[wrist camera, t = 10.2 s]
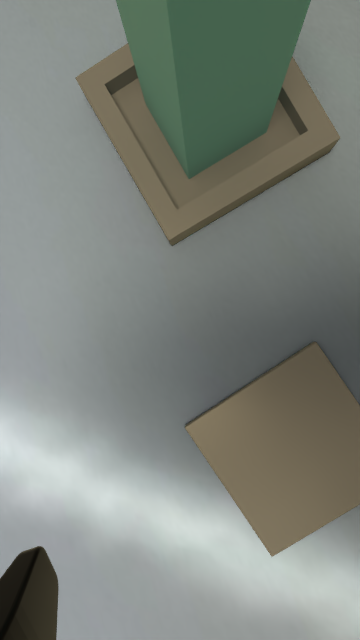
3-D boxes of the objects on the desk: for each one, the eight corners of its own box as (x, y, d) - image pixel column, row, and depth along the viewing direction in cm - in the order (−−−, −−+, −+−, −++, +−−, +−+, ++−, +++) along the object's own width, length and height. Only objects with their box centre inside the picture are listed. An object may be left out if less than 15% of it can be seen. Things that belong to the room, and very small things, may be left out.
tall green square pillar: (266, 132, 19) (402, -272, 6) (188, 179, 19) (153, -101, 6) (221, 56, 19) (257, -509, 6) (145, 104, 19) (22, -327, 6)
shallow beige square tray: (329, 152, 19) (340, 137, 18) (171, 246, 20) (168, 240, 18) (237, -3, 19) (240, -31, 18) (85, 96, 20) (75, 77, 19)
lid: (310, 340, 20) (316, 342, 19) (397, 467, 20) (407, 475, 19) (186, 421, 21) (184, 427, 20) (268, 544, 20) (272, 556, 19)
